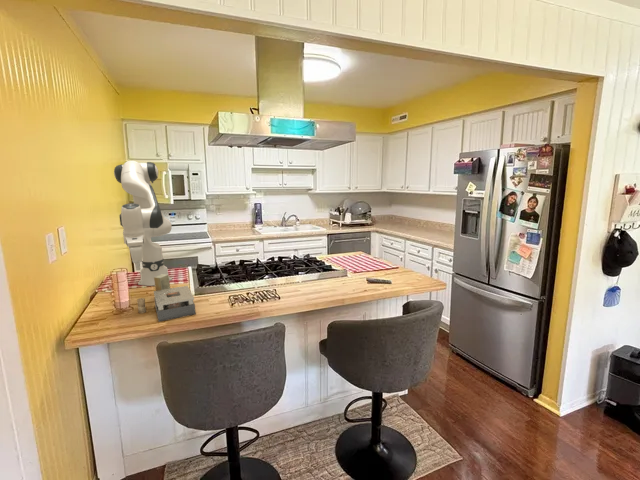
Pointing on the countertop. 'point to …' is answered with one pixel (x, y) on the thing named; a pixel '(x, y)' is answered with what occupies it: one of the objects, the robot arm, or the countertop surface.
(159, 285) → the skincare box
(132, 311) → the countertop surface
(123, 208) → the robot arm
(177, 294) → the breaker housing
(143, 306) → the grey block
